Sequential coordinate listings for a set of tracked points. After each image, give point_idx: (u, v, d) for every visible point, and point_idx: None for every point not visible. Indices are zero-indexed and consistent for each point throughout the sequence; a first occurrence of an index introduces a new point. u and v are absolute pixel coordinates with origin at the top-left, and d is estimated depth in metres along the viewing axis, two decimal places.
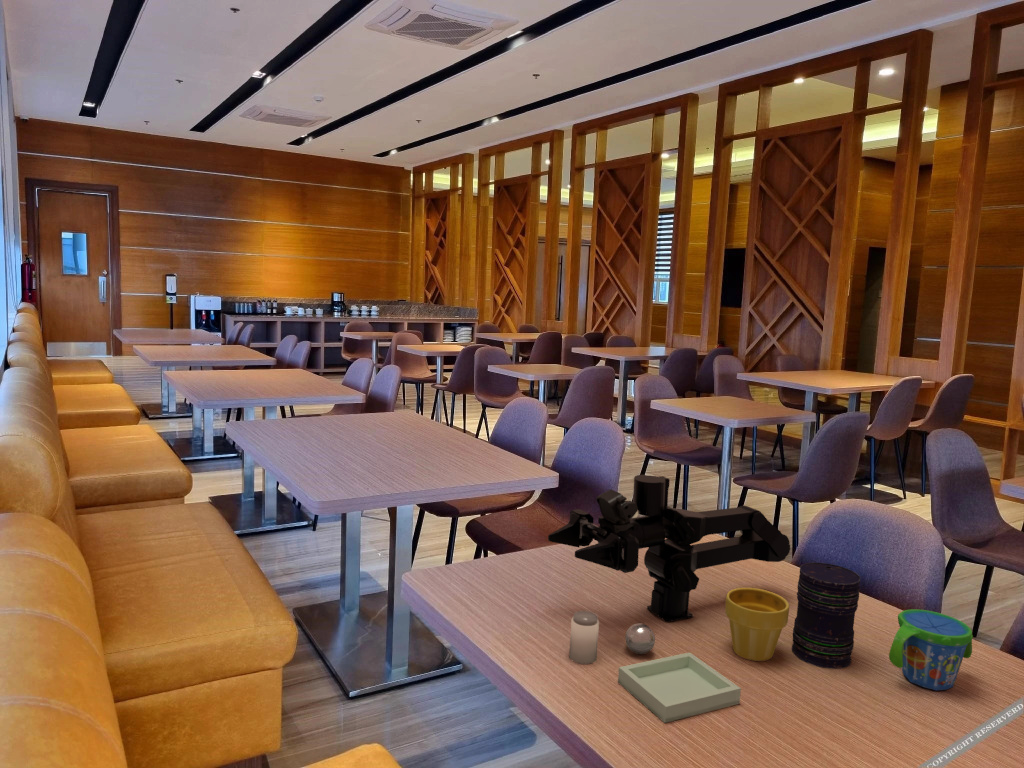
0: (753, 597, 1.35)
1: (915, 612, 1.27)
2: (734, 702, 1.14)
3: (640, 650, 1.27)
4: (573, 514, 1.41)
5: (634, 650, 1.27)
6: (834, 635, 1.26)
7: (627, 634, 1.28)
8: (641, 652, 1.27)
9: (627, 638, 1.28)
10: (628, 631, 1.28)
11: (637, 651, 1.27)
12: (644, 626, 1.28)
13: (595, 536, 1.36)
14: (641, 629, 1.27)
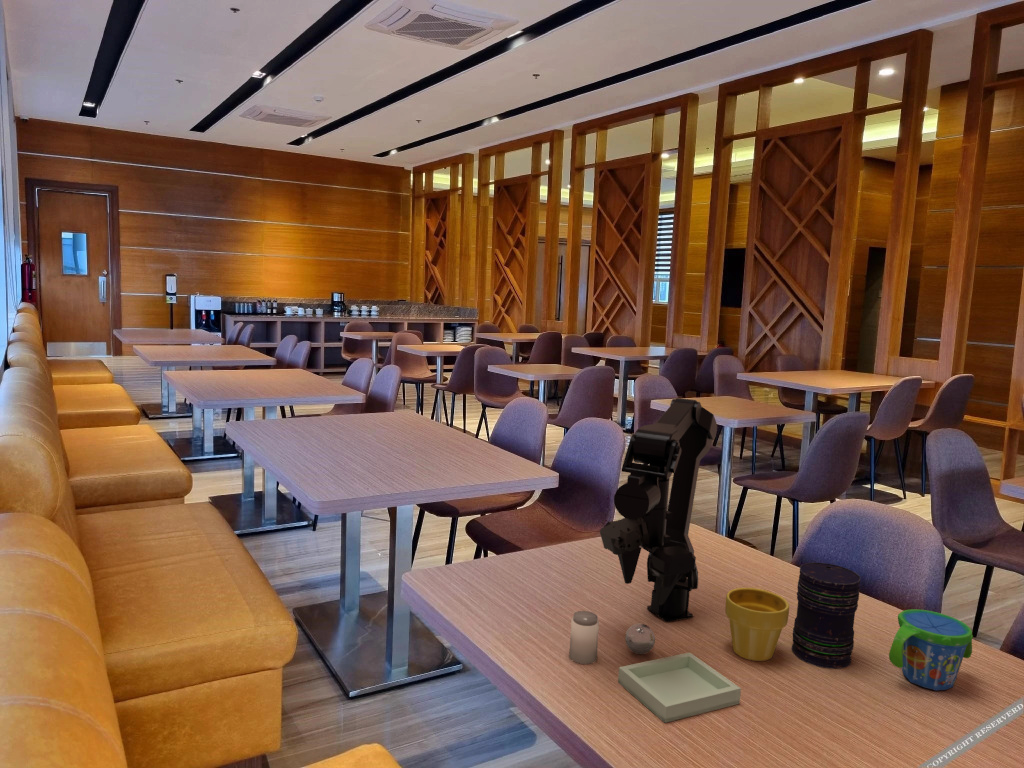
0: (753, 597, 1.35)
1: (915, 612, 1.27)
2: (734, 702, 1.14)
3: (640, 650, 1.27)
4: None
5: (634, 650, 1.27)
6: (834, 635, 1.26)
7: (627, 634, 1.28)
8: (641, 652, 1.27)
9: (627, 638, 1.28)
10: (628, 631, 1.28)
11: (637, 651, 1.27)
12: (644, 626, 1.28)
13: None
14: (641, 629, 1.27)
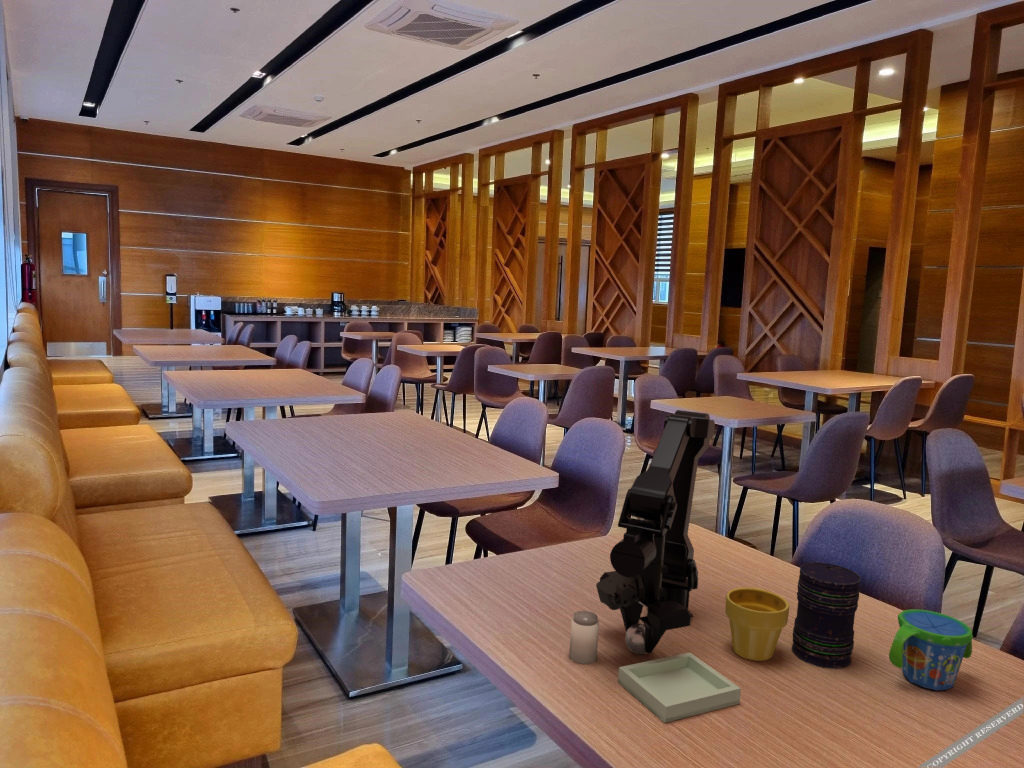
0: (753, 597, 1.35)
1: (915, 612, 1.27)
2: (734, 702, 1.14)
3: (640, 650, 1.27)
4: None
5: (634, 650, 1.27)
6: (834, 635, 1.26)
7: (627, 634, 1.28)
8: (641, 652, 1.27)
9: (627, 638, 1.28)
10: (628, 631, 1.28)
11: (637, 651, 1.27)
12: (644, 626, 1.28)
13: None
14: (641, 629, 1.27)
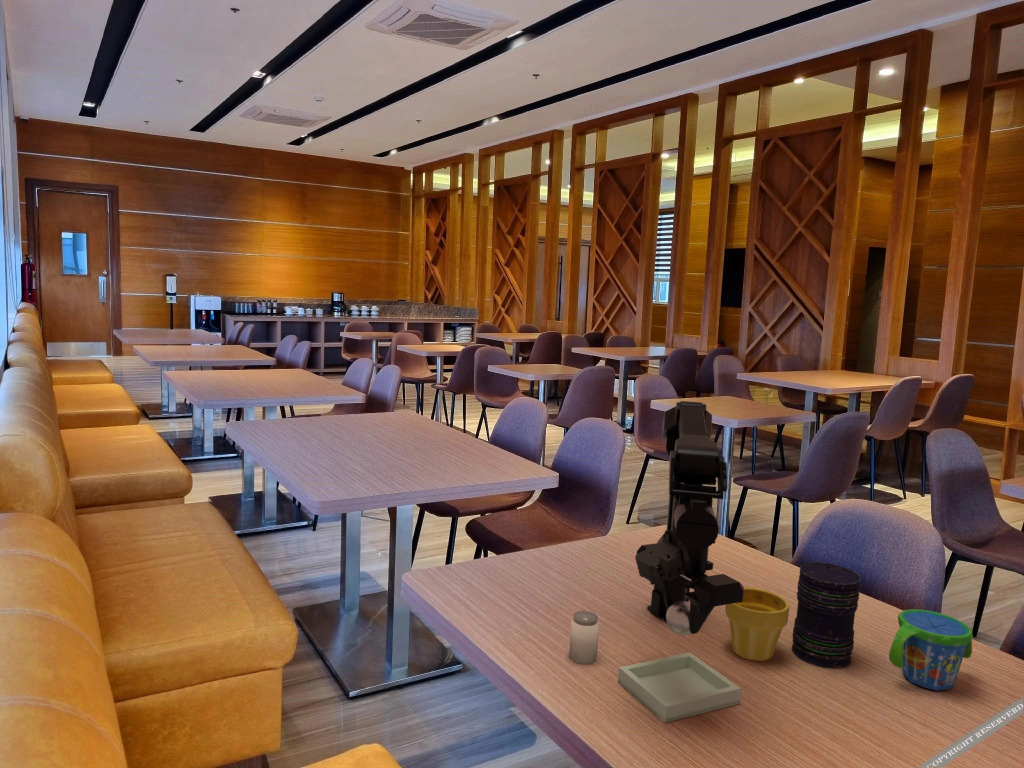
0: (753, 597, 1.35)
1: (915, 612, 1.27)
2: (734, 702, 1.14)
3: (683, 630, 1.13)
4: None
5: (677, 630, 1.14)
6: (834, 635, 1.26)
7: (668, 612, 1.15)
8: (685, 632, 1.13)
9: (669, 617, 1.14)
10: (670, 609, 1.15)
11: (681, 631, 1.13)
12: (688, 603, 1.14)
13: None
14: (685, 607, 1.14)
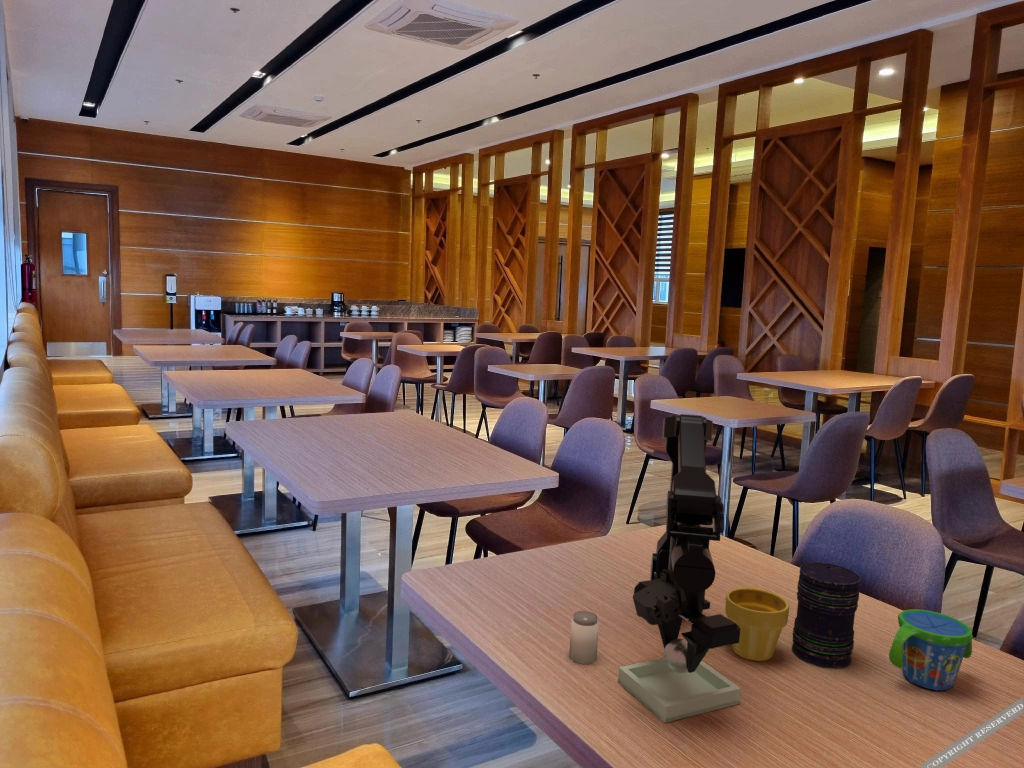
0: (753, 597, 1.35)
1: (915, 612, 1.27)
2: (734, 702, 1.14)
3: (681, 669, 1.14)
4: None
5: (674, 669, 1.14)
6: (834, 635, 1.26)
7: (666, 651, 1.15)
8: (682, 671, 1.14)
9: (666, 655, 1.15)
10: (667, 647, 1.16)
11: (678, 670, 1.14)
12: (685, 642, 1.15)
13: None
14: (682, 646, 1.14)
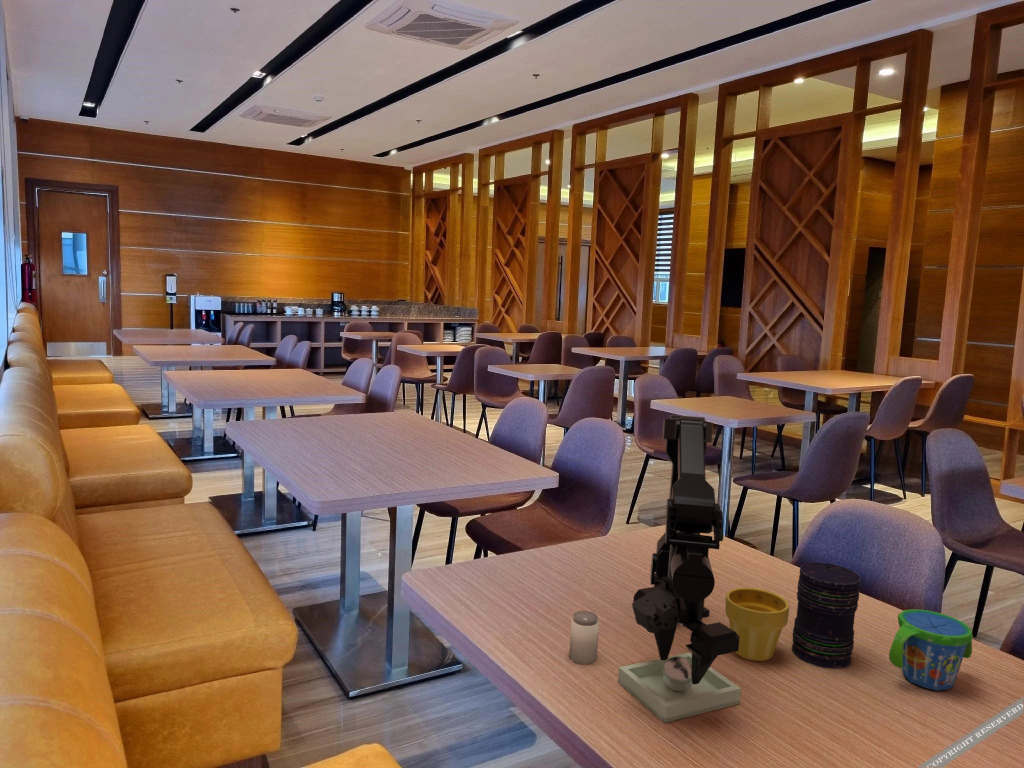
0: (753, 597, 1.35)
1: (915, 612, 1.27)
2: (734, 702, 1.14)
3: (679, 687, 1.14)
4: None
5: (672, 687, 1.15)
6: (834, 635, 1.26)
7: (664, 669, 1.16)
8: (680, 689, 1.15)
9: (664, 673, 1.15)
10: (665, 666, 1.16)
11: (676, 688, 1.14)
12: (683, 660, 1.16)
13: None
14: (680, 664, 1.15)
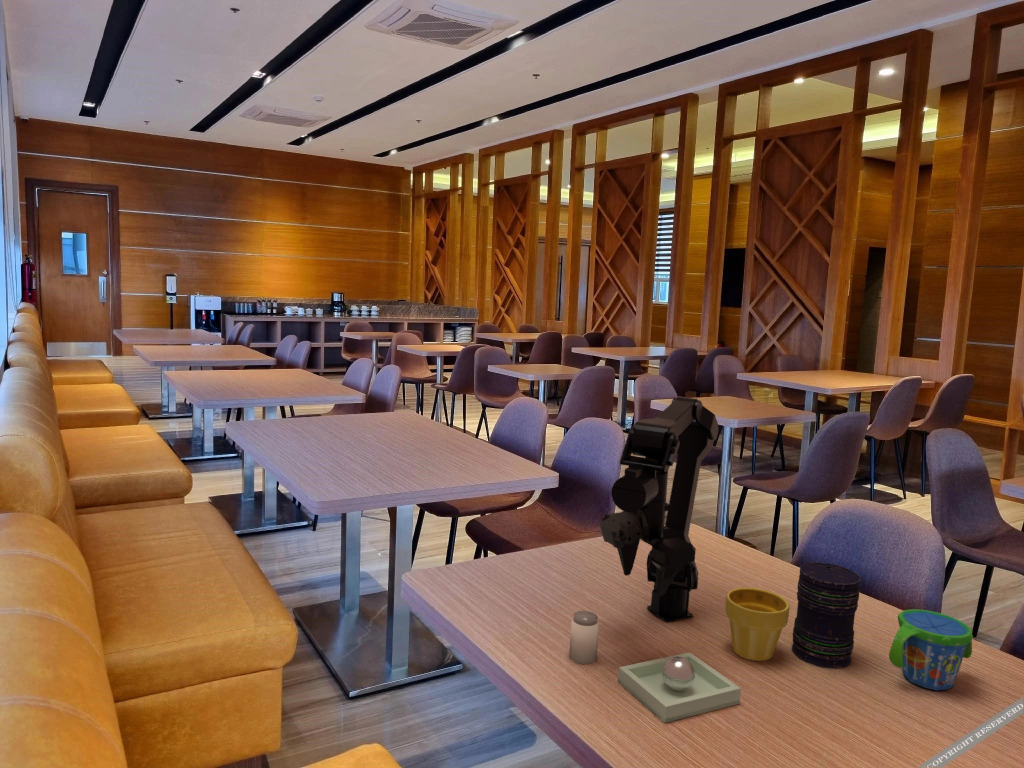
0: (753, 597, 1.35)
1: (915, 612, 1.27)
2: (734, 702, 1.14)
3: (679, 687, 1.14)
4: None
5: (672, 687, 1.15)
6: (834, 635, 1.26)
7: (664, 669, 1.16)
8: (680, 689, 1.15)
9: (664, 673, 1.15)
10: (665, 665, 1.16)
11: (676, 688, 1.14)
12: (683, 660, 1.16)
13: None
14: (680, 663, 1.15)
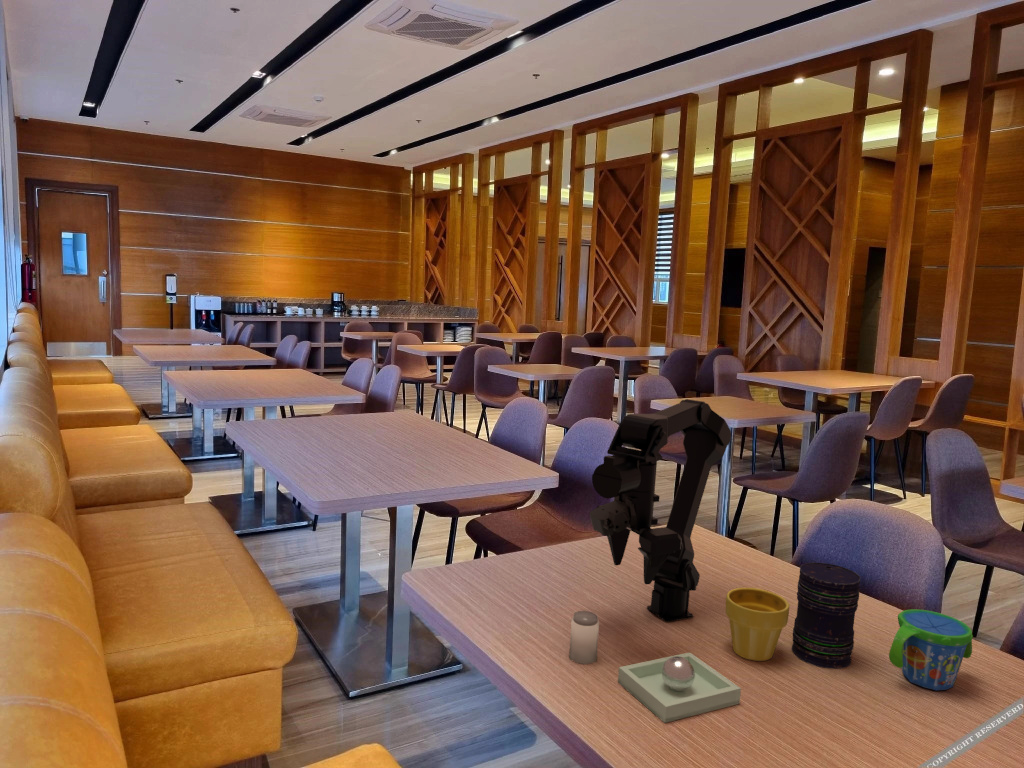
0: (753, 597, 1.35)
1: (915, 612, 1.27)
2: (734, 702, 1.14)
3: (679, 687, 1.14)
4: None
5: (672, 687, 1.15)
6: (834, 635, 1.26)
7: (664, 669, 1.16)
8: (680, 689, 1.15)
9: (664, 673, 1.15)
10: (665, 665, 1.16)
11: (676, 688, 1.14)
12: (683, 659, 1.16)
13: None
14: (680, 663, 1.15)
